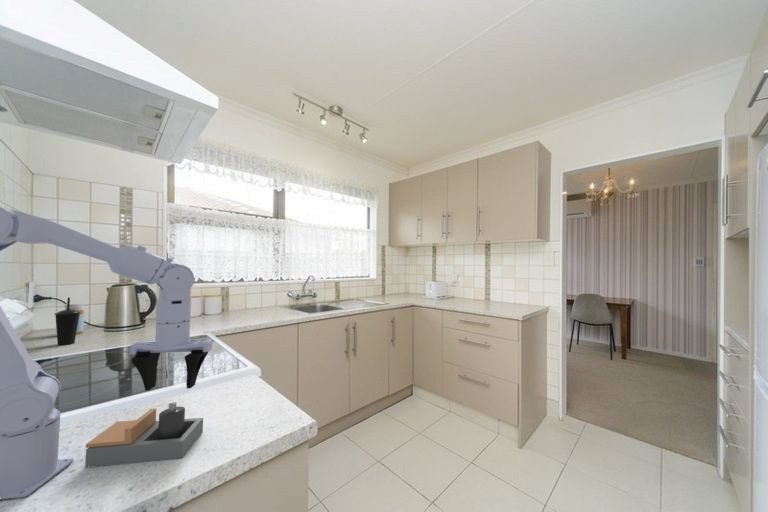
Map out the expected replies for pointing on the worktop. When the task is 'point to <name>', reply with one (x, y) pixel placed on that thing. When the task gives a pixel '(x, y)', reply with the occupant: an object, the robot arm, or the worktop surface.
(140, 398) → the worktop surface
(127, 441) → the tan l-shaped bracket
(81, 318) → the bottle
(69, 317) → the drinking cup
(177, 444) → the socket block
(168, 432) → the plug
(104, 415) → the worktop surface
